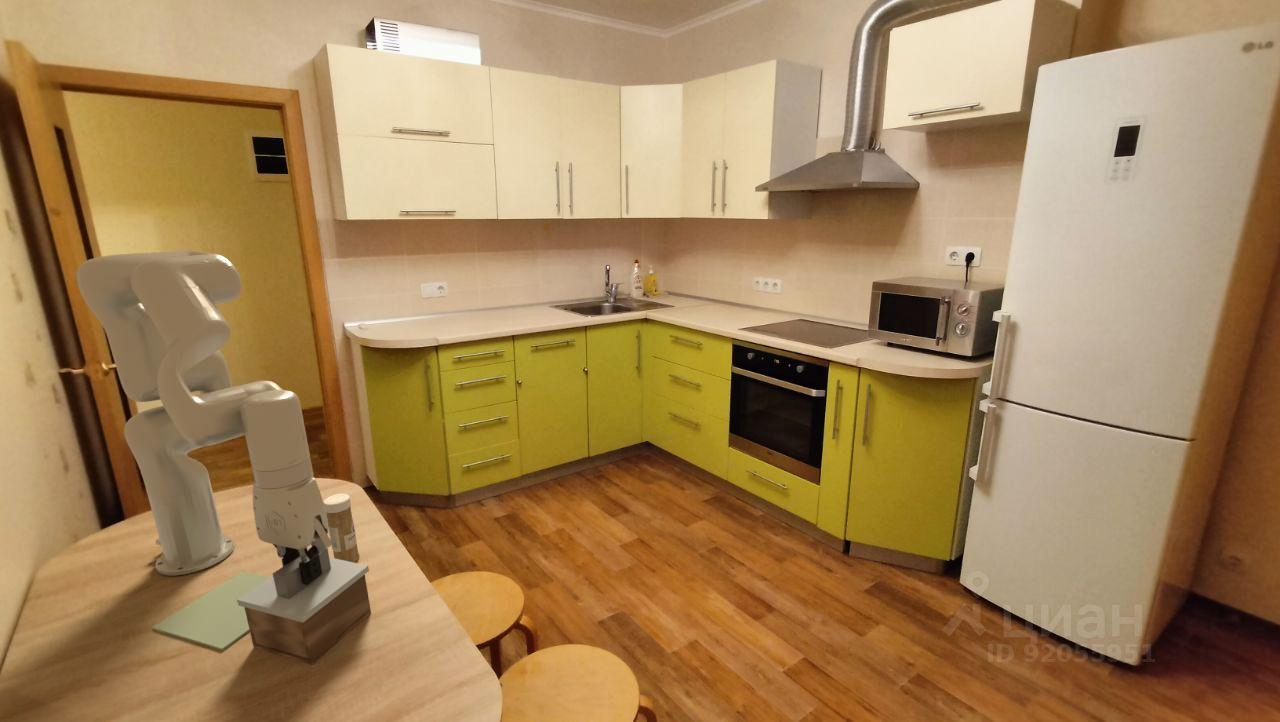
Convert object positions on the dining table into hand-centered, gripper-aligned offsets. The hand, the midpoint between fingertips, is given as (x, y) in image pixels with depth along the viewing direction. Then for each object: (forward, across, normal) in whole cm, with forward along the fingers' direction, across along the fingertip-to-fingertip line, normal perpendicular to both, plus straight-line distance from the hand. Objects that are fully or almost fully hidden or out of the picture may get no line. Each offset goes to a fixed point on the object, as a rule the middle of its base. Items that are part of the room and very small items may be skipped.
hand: (304, 576), depth 93 cm
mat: (+10, -18, 0) cm, 21 cm away
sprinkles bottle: (+10, -10, +17) cm, 22 cm away
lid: (+3, 0, 0) cm, 3 cm away
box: (+10, 0, 0) cm, 10 cm away
